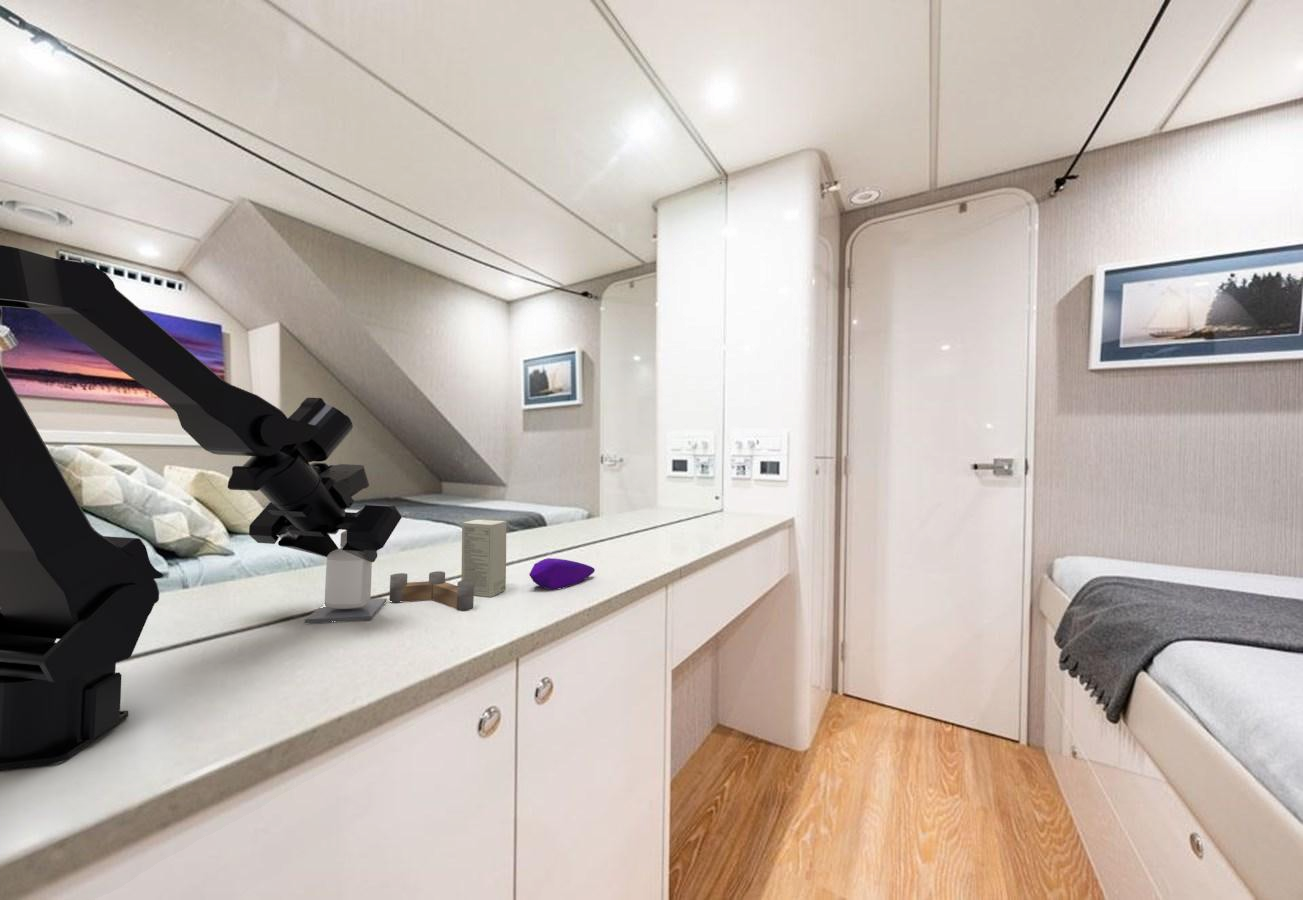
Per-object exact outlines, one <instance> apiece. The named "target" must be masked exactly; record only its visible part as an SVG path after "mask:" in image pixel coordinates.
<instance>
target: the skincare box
mask: <svg viewBox="0 0 1303 900" xmlns="http://www.w3.org/2000/svg"><path fill="white" fill-rule="evenodd" d="M506 579H507V520H496V519H495V520H493V519H482V518H481V519H480V518H479V519H472V520H468V521H467V520H466V521H464V522H463V521H462V522H461V580H460V581H462V580H473V581H474V596H479V597H490V598H492V597H494V596H496V595H498V594H500V593H503V592H504V591H506V587H507V586H506V585H507V581H506Z"/></svg>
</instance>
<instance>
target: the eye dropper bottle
mask: <svg viewBox="0 0 1303 900" xmlns="http://www.w3.org/2000/svg"><path fill="white" fill-rule="evenodd" d="M346 543H347V530H343V531H342V532H341V533H340V544H339V545H340V546H339V547H340V548H339V549H337V550H334V551H332V552H331V553H329V555H328V556H327V557H326V568H325V583H324V585H325V587H324V588H325V589H324V604H325V606H326V607H328V608H334V609H353V608H361V607H363V606H365V605H367V604H369V602H370V599H371V595H372V568H373V567H372V566H373V562H370V561H367V560H364V559H362V558H360V557H357V556H355V555H353V554H350V553H348V552H346V551H343V550H342V549H343V547H344V546H345V544H346Z"/></svg>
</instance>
